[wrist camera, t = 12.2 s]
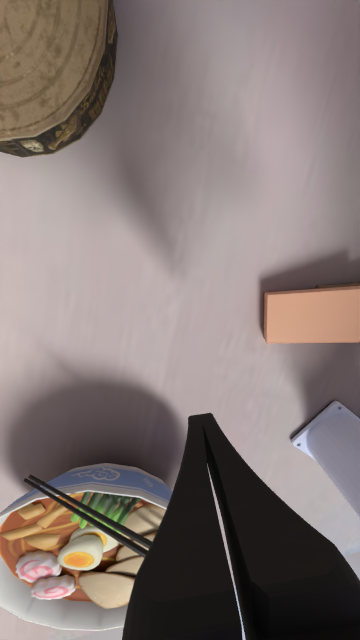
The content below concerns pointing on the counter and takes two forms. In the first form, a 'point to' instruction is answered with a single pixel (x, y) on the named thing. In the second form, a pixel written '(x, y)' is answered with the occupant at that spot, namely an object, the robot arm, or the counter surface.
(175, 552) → the robot arm
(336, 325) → the orange tan rectangular block
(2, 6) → the wooden tree slice
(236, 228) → the counter surface
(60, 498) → the ramen bowl
